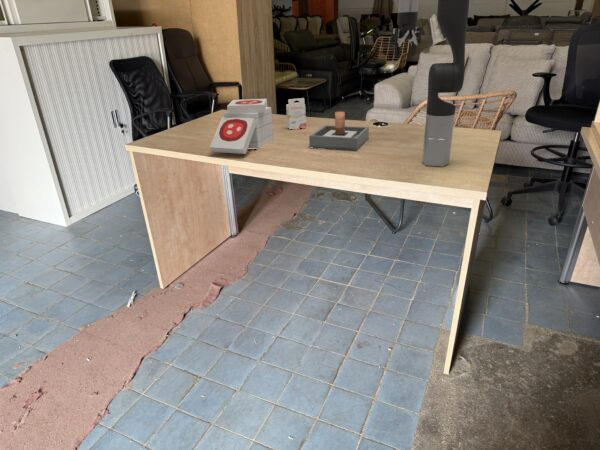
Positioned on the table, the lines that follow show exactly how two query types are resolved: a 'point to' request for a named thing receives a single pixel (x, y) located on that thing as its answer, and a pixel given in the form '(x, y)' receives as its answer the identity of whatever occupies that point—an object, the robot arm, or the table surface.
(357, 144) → the open box
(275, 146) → the table surface
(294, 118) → the ink cartridge box
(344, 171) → the table surface
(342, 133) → the peg
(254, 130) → the stack of white boxes
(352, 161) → the table surface
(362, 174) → the table surface
